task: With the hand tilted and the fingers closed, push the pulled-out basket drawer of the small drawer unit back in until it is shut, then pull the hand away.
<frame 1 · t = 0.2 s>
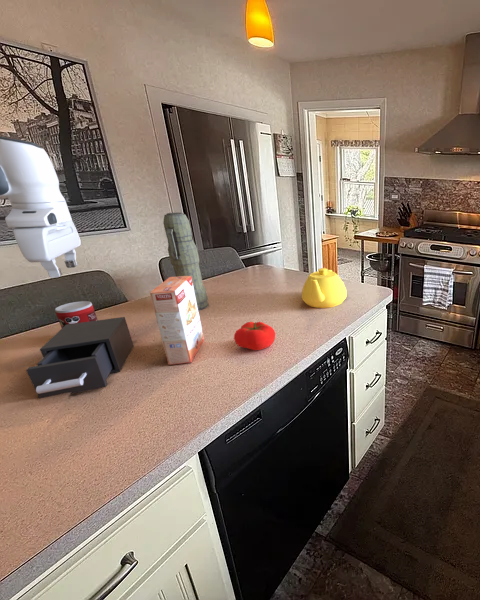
hand: (64, 271, 81), 25 cm above the worktop, tool pointing down, fingers open, 8 cm apart
cracker box: (188, 352, 93), on the worktop
thermos: (196, 307, 125), on the worktop
fryer drawer: (76, 368, 76), point 5 cm above the worktop, slide at 7.0 cm
teapot: (324, 302, 131), on the worktop
canned food: (86, 339, 100), on the worktop
small drawer unit: (98, 363, 87), on the worktop
tomato: (257, 346, 97), on the worktop
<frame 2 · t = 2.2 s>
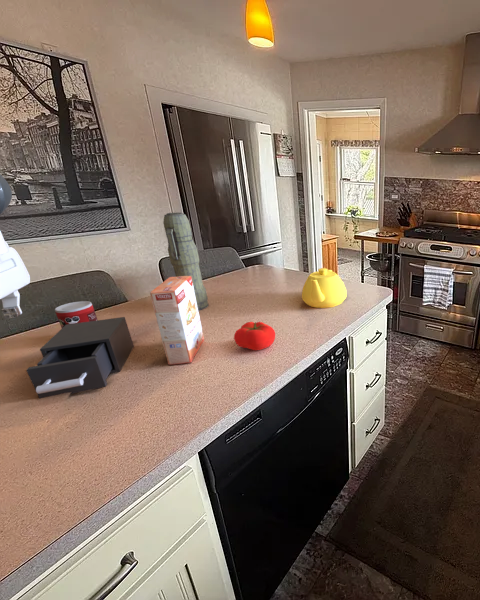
hand: (0, 325, 55), 23 cm above the worktop, tool pointing down, fingers open, 7 cm apart
nothing on the worktop moved.
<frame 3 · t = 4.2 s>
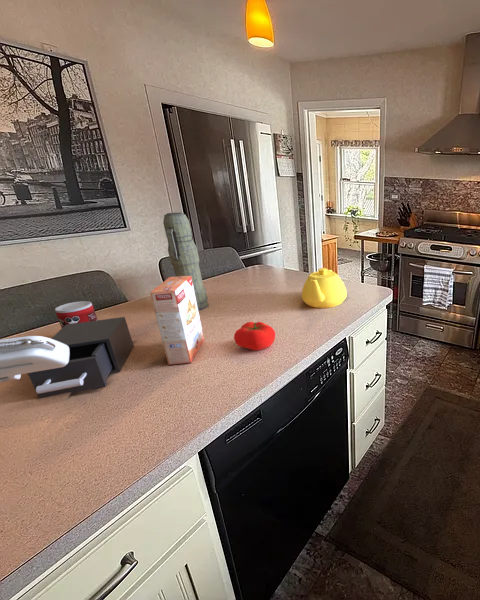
hand: (9, 376, 56), 15 cm above the worktop, tool tilted 45°, fingers closed
nothing on the worktop moved.
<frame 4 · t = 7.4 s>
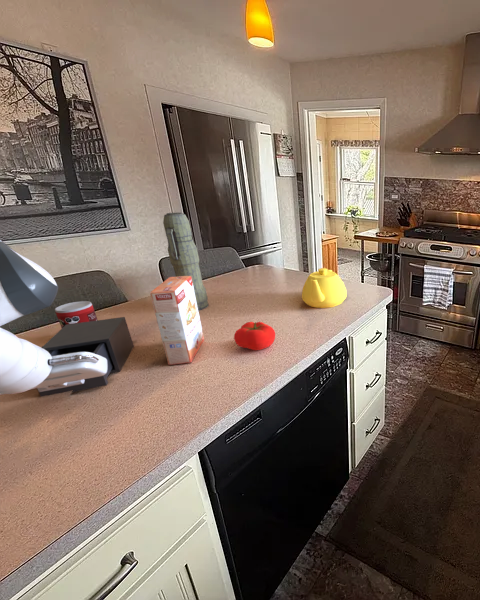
hand: (58, 383, 69), 6 cm above the worktop, tool tilted 45°, fingers closed, pressing on fryer drawer
fryer drawer: (77, 367, 77), point 5 cm above the worktop, slide at 6.4 cm, touching gripper
everything else where it was.
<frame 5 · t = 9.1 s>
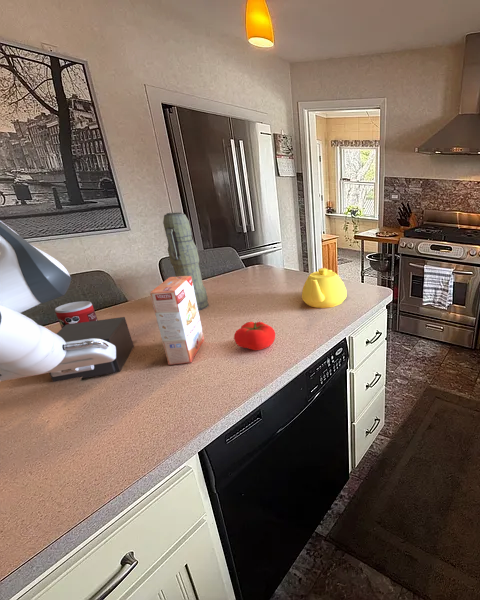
hand: (70, 369, 74), 6 cm above the worktop, tool tilted 45°, fingers closed, pressing on fryer drawer
fryer drawer: (86, 355, 82), point 5 cm above the worktop, slide at 0.3 cm, touching gripper
everything else where it was.
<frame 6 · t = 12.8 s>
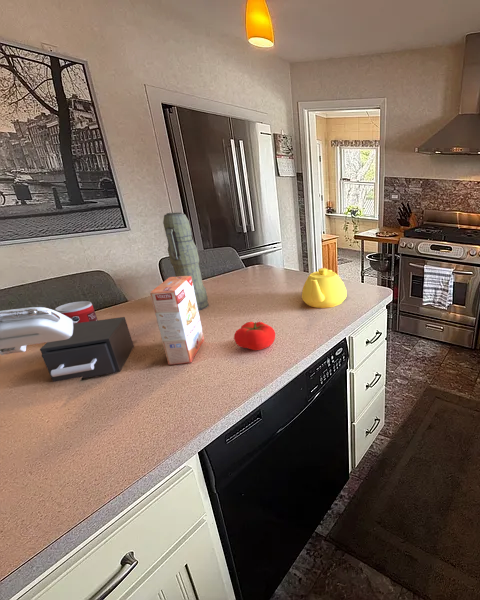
hand: (15, 349, 58), 18 cm above the worktop, tool tilted 45°, fingers closed
fryer drawer: (86, 355, 82), point 5 cm above the worktop, slide at 0.3 cm
everything else where it was.
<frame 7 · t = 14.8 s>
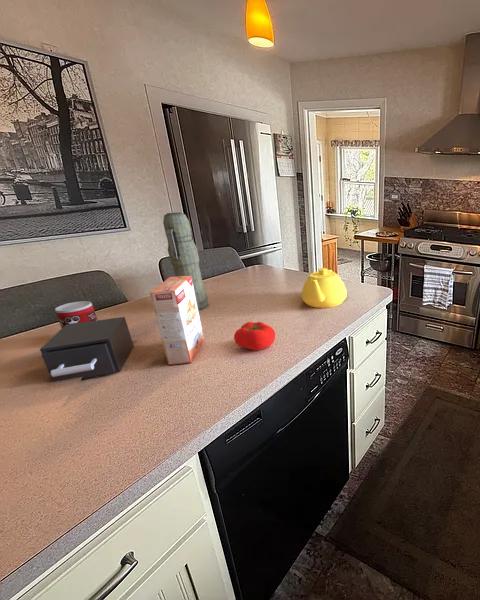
nothing on the worktop moved.
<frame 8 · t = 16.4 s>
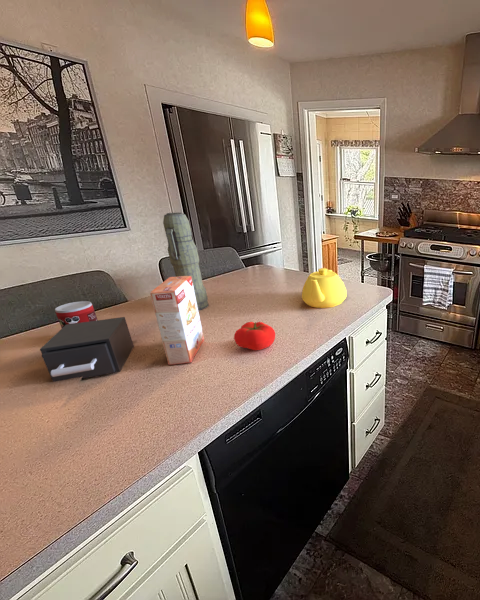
nothing on the worktop moved.
at the end: fryer drawer slide at 0.3 cm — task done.
